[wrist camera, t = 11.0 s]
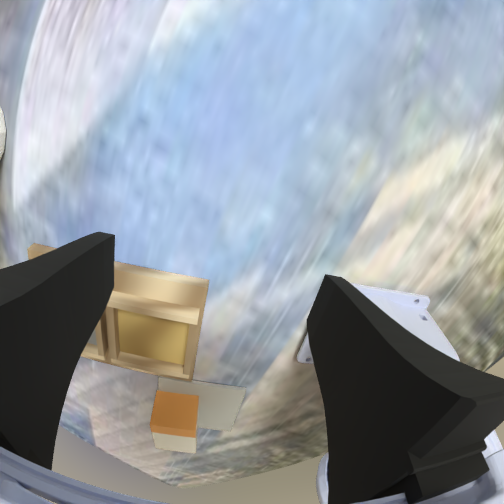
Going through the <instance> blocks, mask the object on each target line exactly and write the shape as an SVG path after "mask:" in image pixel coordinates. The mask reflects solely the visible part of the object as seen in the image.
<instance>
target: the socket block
mask: <svg viewBox="0 0 504 504" xmlns="http://www.w3.org/2000/svg"><path fill="white" fill-rule="evenodd" d="M55 249H57V248H53V247H48V246H44V245H40V244H36V243H34V244H32V245H31V246H30V247H29V248H28V249H27V250H28V258H29V260H30V259H33V258H35V257H38V256H40V255H42V254H45V253H47V252H50V251H52V250H55ZM208 285H209V280H207V279H202V278H196V277H191V276H186V275H180V274H175V273H170V272H165V271H160V270H155V269H150V268H145V267H140V266H135V265H130V264H125V263H121V262H116V261H114V288H113V291H112V294H111V296H110V299H109V301H108V304H107V306H106V309H105V311H104V313H103V315H102V316H101V318H100V320H99V322H98V324H97V326H96V327H95V329H94V331H93V333H92V335H91V337H90V339H89V340H88V342H87V344H86V346H85V348H84V350H83V352H82V354H81V356H82V357H85V358H89V359H92V360H96V361H100V362H103V363H107V364H111V365H115V366H119V367H123V368H127V369H131V370H135V371H140V372H144V373H149V374H154V375H158V376H163V377H169V378H174V379H179V380H185V381H191V382H192V377H193V371H194V365H195V359H196V353H197V347H198V341H199V335H200V330H201V324H202V318H203V313H204V307H205V302H206V296H207V291H208Z"/></svg>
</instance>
